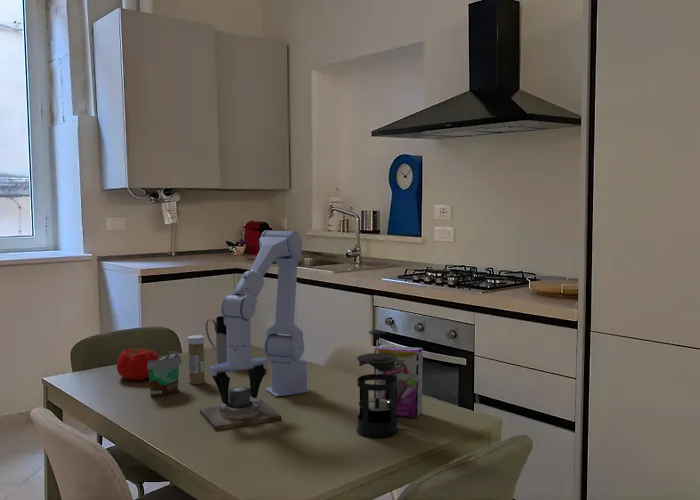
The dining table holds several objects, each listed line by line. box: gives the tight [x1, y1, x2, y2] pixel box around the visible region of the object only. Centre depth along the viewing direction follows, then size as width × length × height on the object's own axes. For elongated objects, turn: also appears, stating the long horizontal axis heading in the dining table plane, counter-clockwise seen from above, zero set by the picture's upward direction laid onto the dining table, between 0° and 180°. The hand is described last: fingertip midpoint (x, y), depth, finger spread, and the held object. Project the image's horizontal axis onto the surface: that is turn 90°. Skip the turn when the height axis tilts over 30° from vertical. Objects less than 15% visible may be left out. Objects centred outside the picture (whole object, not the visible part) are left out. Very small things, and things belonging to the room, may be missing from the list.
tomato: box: [116, 347, 160, 382], centre depth 194 cm, size 13×12×8 cm
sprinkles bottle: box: [187, 334, 206, 385], centre depth 188 cm, size 5×5×14 cm
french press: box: [356, 329, 399, 439], centre depth 148 cm, size 12×9×23 cm
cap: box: [228, 386, 251, 408], centre depth 159 cm, size 5×5×6 cm
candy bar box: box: [373, 344, 424, 419], centre depth 160 cm, size 11×5×16 cm, turn 71°
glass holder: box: [205, 315, 227, 365], centre depth 211 cm, size 9×14×15 cm, turn 57°
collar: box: [199, 398, 282, 431], centre depth 159 cm, size 16×14×3 cm
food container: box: [147, 350, 183, 398], centre depth 179 cm, size 12×6×10 cm, turn 168°
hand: (239, 400), depth 159 cm, fingers open, 7 cm apart
